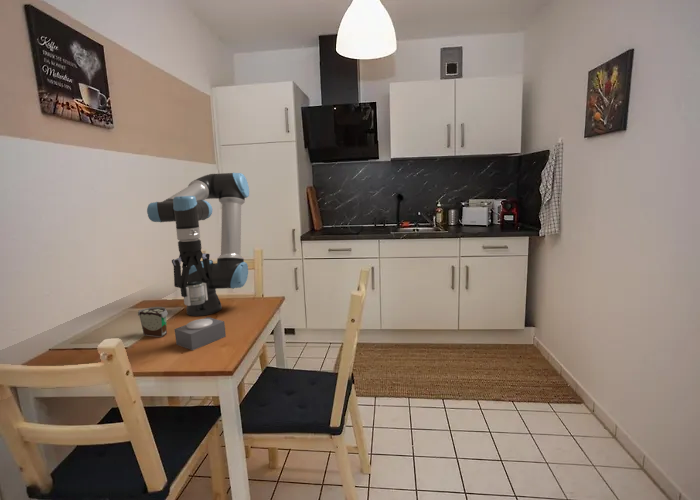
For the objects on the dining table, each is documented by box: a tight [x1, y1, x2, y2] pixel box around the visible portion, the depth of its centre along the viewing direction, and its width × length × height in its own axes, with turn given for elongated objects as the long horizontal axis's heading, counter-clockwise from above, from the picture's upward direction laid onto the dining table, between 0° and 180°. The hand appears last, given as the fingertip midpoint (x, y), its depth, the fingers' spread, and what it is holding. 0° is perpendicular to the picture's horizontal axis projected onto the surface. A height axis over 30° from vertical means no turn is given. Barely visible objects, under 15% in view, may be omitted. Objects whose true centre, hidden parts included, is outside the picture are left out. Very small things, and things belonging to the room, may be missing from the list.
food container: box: [137, 306, 169, 338], centre depth 149 cm, size 12×6×10 cm, turn 71°
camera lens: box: [187, 281, 205, 305], centre depth 137 cm, size 6×6×8 cm
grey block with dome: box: [174, 316, 227, 351], centre depth 140 cm, size 11×14×7 cm
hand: (196, 302), depth 138 cm, fingers closed on camera lens, 6 cm apart
